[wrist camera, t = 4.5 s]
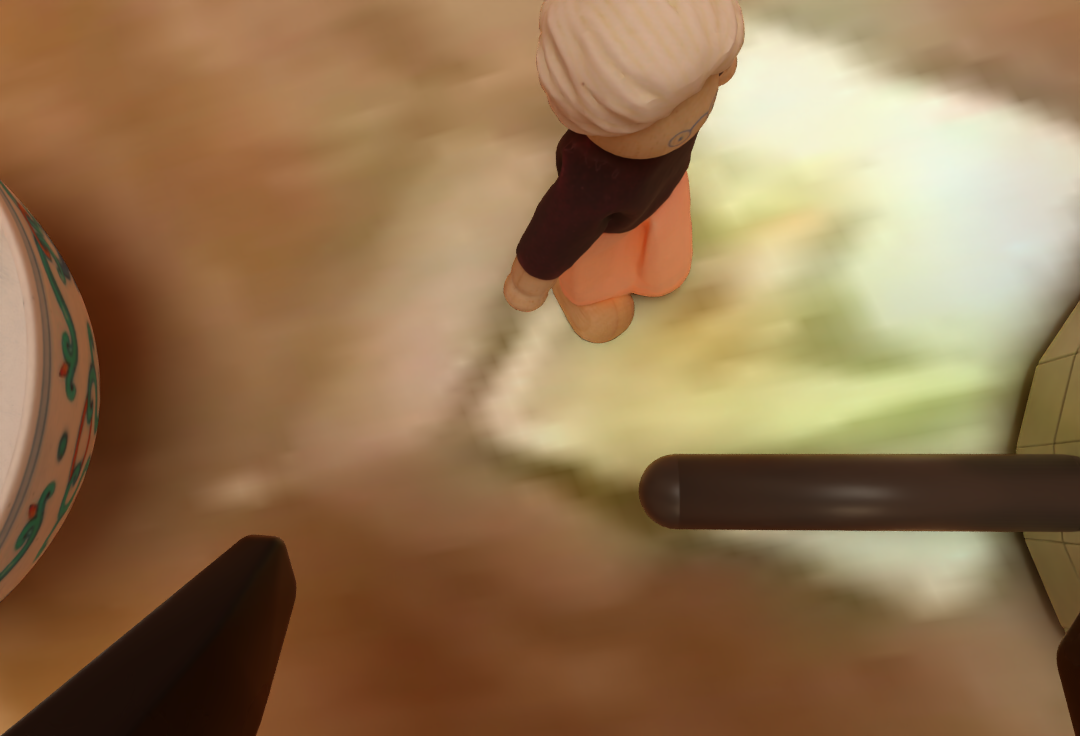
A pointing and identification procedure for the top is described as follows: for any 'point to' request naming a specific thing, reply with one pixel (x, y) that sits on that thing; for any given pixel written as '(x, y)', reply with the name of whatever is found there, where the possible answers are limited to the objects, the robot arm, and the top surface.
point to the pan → (1056, 428)
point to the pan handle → (864, 492)
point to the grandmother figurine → (621, 152)
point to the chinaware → (40, 391)
